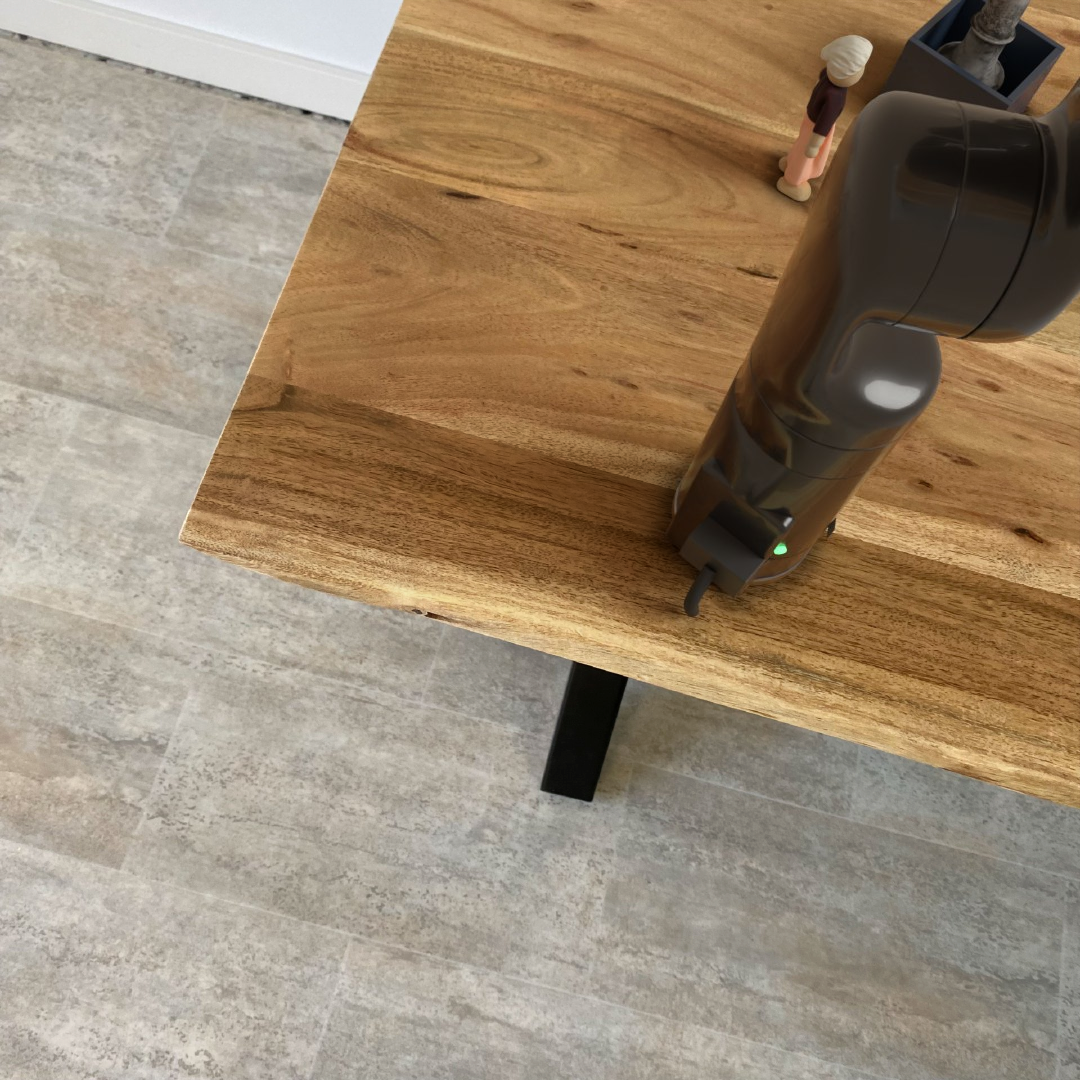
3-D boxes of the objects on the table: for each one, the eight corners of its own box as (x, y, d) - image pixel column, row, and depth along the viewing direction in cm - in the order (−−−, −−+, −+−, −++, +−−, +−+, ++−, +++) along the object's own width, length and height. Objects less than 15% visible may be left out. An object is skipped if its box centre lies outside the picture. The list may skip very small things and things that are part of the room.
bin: (967, 169, 88) (1009, 105, 82) (874, 105, 90) (908, 38, 84) (1022, 112, 91) (1066, 47, 86) (931, 52, 93) (967, -16, 87)
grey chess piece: (982, 136, 89) (1063, 9, 78) (913, 118, 89) (985, -11, 78) (983, 86, 91) (1062, -43, 81) (916, 69, 91) (986, -62, 80)
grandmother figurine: (823, 213, 84) (891, 82, 72) (775, 208, 83) (836, 75, 72) (814, 140, 87) (878, 3, 76) (768, 135, 87) (825, -4, 75)
